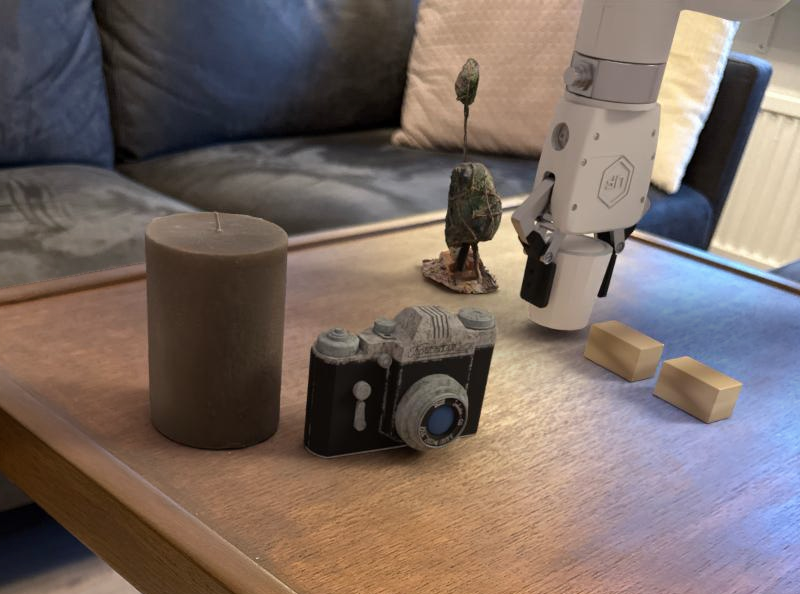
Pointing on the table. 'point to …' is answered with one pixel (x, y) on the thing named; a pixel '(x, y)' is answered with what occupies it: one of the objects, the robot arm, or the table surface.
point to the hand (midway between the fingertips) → (563, 296)
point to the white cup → (574, 282)
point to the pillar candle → (215, 327)
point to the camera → (399, 382)
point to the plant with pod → (467, 211)
